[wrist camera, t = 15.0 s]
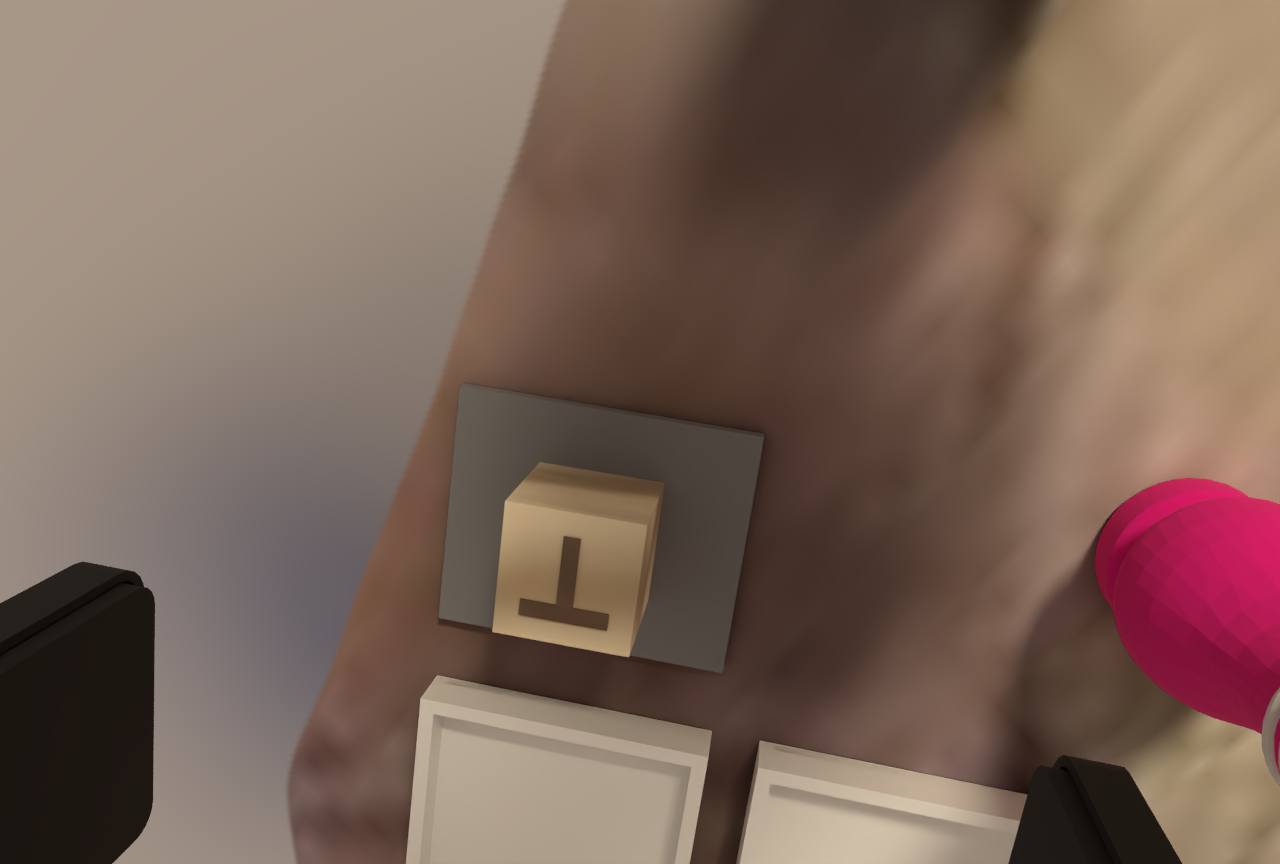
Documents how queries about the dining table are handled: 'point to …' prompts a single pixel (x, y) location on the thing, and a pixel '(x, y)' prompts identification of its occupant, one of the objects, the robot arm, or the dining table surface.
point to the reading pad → (622, 445)
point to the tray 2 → (870, 814)
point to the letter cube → (577, 558)
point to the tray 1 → (549, 781)
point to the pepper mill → (1201, 599)
